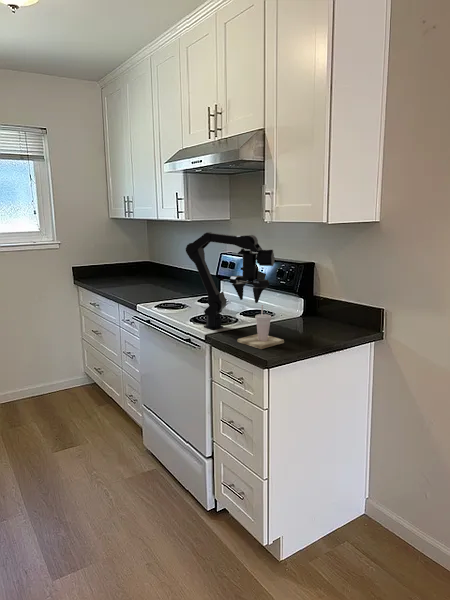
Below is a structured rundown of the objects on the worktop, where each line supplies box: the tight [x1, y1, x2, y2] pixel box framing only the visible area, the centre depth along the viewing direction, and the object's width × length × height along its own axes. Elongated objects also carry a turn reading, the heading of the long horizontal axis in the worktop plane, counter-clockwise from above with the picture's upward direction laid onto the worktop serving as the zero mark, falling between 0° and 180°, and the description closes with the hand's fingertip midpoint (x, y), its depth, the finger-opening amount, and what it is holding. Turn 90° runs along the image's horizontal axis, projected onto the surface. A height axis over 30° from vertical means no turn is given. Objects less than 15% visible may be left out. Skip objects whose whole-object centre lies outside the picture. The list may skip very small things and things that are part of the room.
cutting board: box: [236, 333, 285, 350], centre depth 180 cm, size 13×13×1 cm
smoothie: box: [254, 304, 272, 341], centre depth 178 cm, size 6×6×14 cm
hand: (248, 301), depth 195 cm, fingers open, 9 cm apart
